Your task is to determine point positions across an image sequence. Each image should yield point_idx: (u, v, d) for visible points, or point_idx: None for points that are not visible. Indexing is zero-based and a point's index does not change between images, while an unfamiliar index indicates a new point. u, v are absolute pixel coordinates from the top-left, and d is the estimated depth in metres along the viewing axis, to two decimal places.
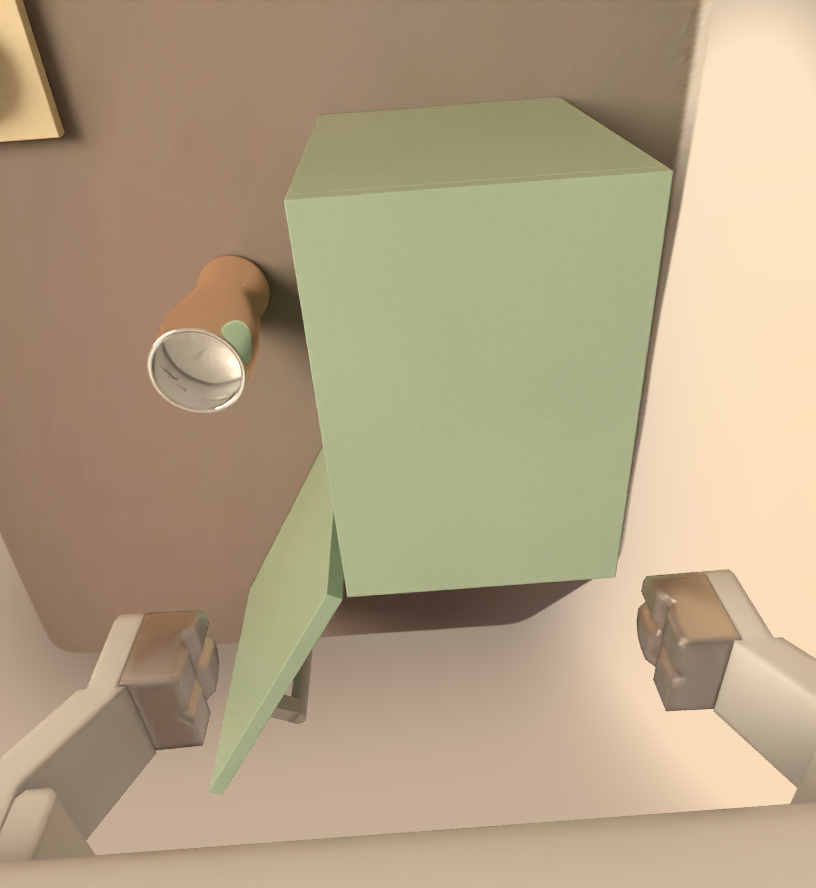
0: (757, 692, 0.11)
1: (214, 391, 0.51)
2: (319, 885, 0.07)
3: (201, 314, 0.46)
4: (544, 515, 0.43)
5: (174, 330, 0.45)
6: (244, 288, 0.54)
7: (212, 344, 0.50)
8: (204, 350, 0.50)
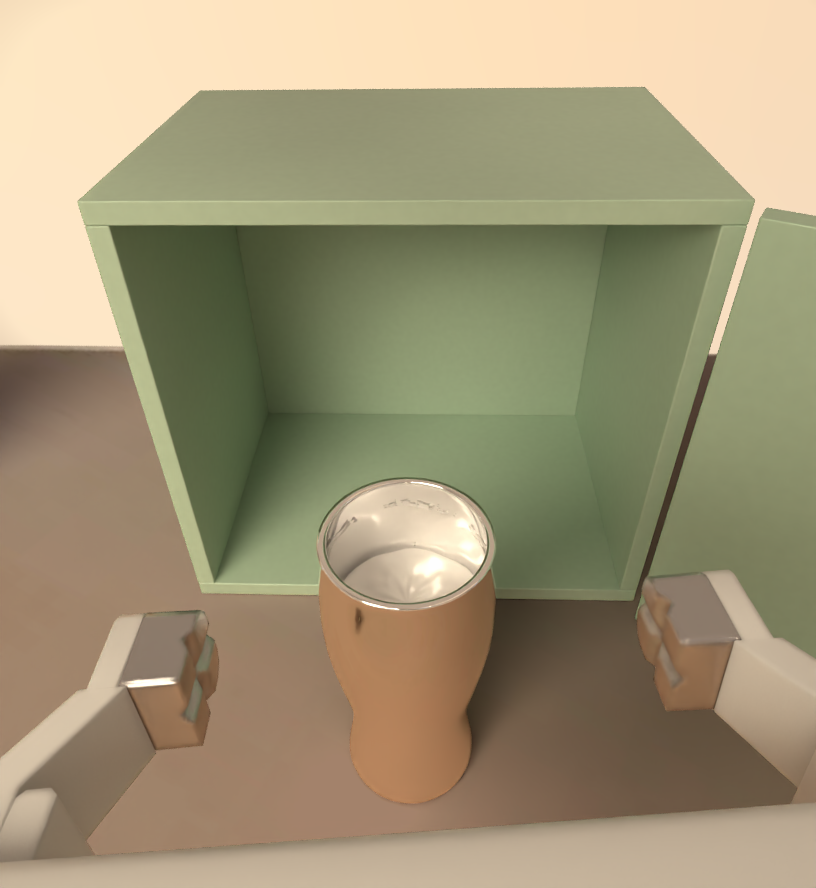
0: (757, 692, 0.11)
1: None
2: (319, 885, 0.07)
3: None
4: (553, 110, 0.36)
5: (317, 550, 0.25)
6: None
7: (403, 596, 0.28)
8: None
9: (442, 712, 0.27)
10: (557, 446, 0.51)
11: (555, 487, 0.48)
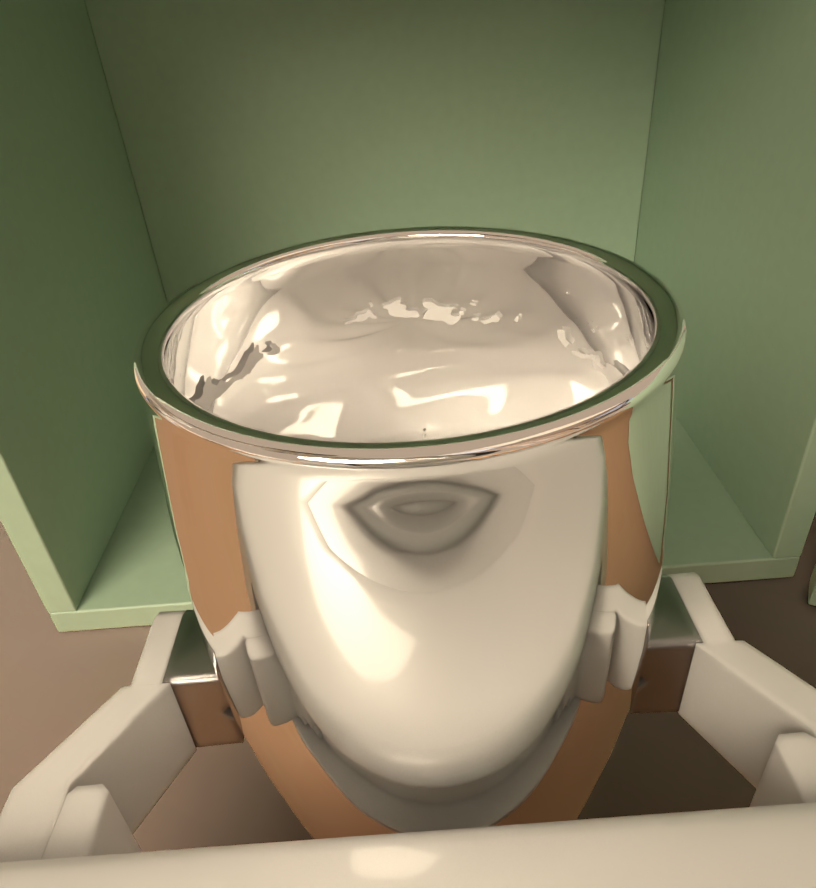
0: (718, 695, 0.11)
1: None
2: (319, 885, 0.07)
3: None
4: None
5: (134, 354, 0.08)
6: None
7: None
8: None
9: None
10: None
11: None
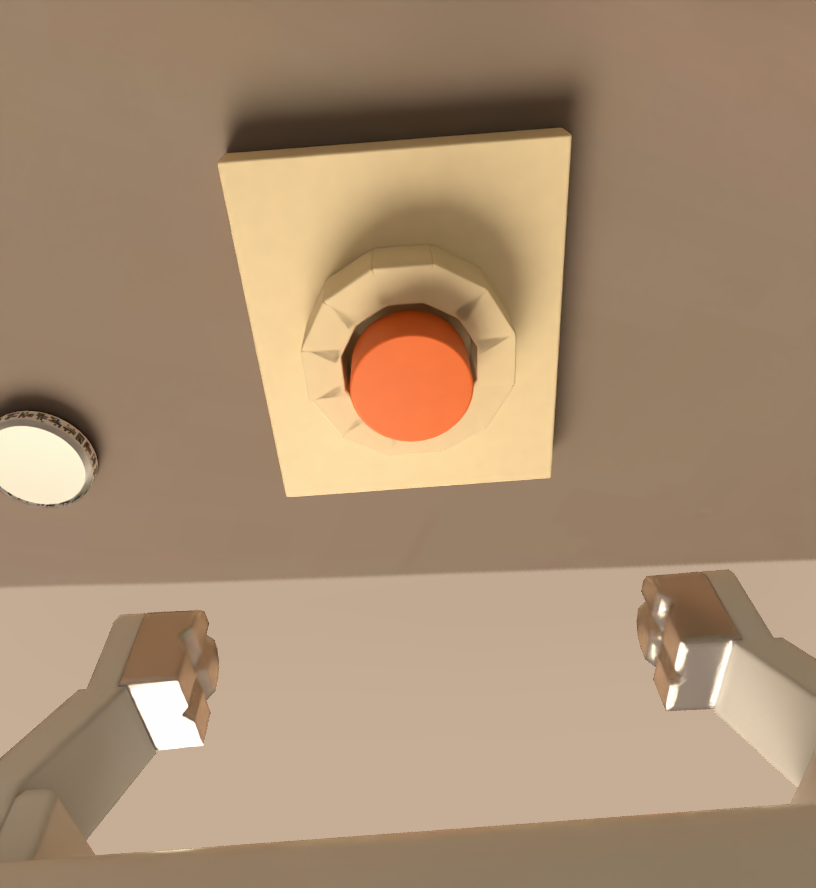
0: (757, 692, 0.11)
1: None
2: (319, 885, 0.07)
3: None
4: None
5: None
6: None
7: None
8: None
9: None
10: None
11: None
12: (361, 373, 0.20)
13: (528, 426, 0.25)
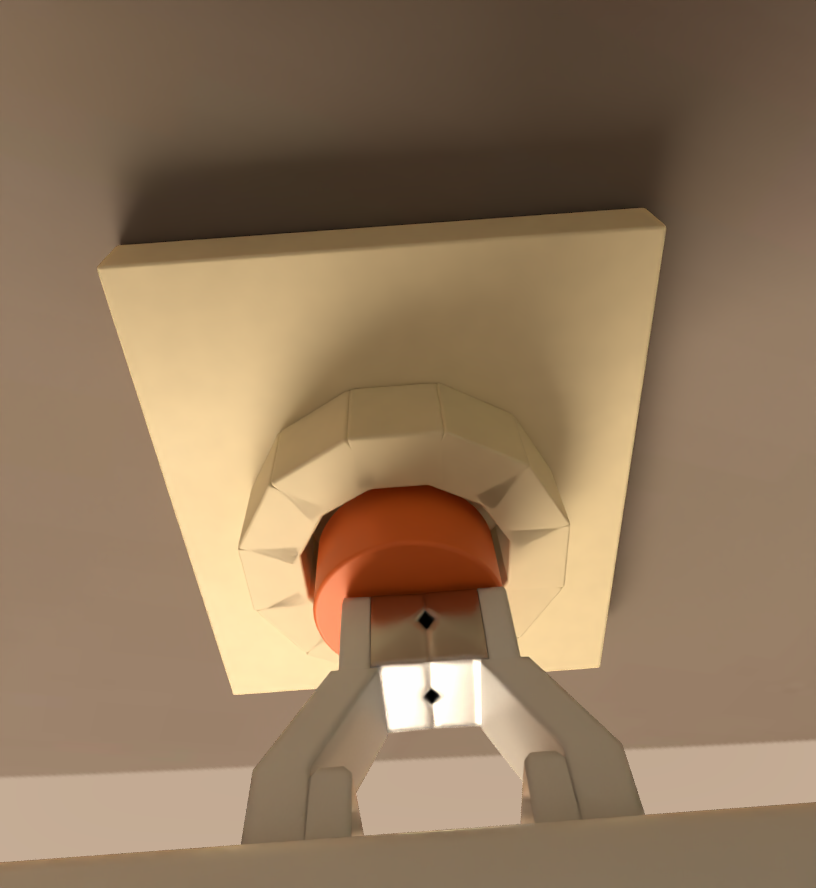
0: (502, 711, 0.11)
1: None
2: (319, 885, 0.07)
3: None
4: None
5: None
6: None
7: None
8: None
9: None
10: None
11: None
12: (330, 594, 0.13)
13: (572, 609, 0.17)
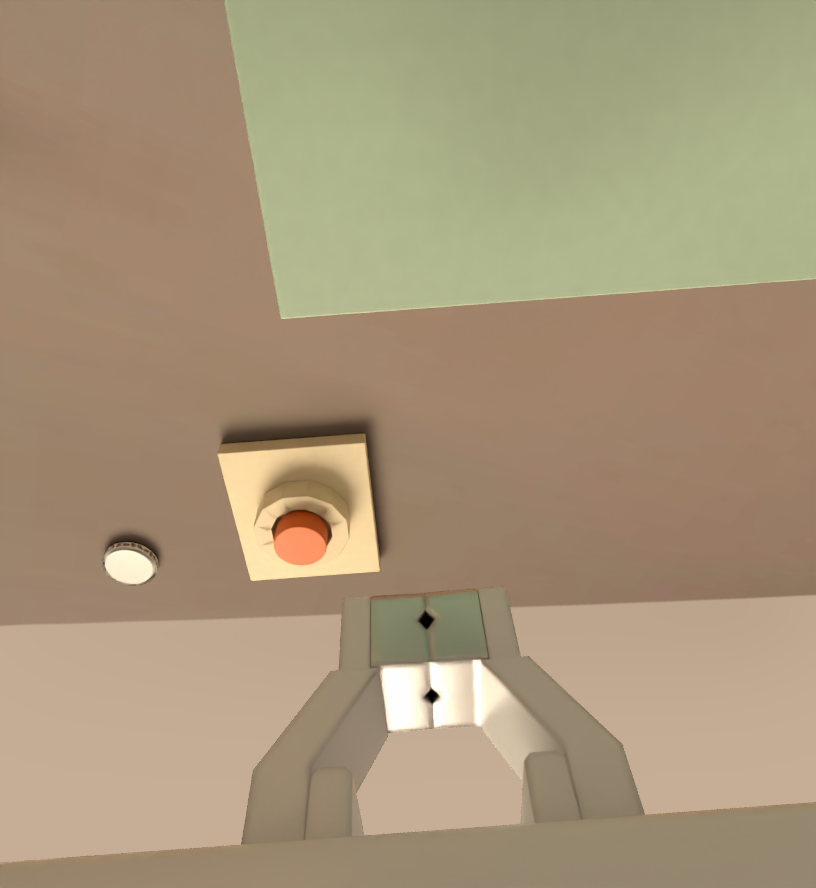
0: (502, 711, 0.11)
1: None
2: (319, 885, 0.07)
3: None
4: None
5: None
6: None
7: None
8: None
9: None
10: None
11: None
12: (278, 540, 0.47)
13: (364, 549, 0.52)
